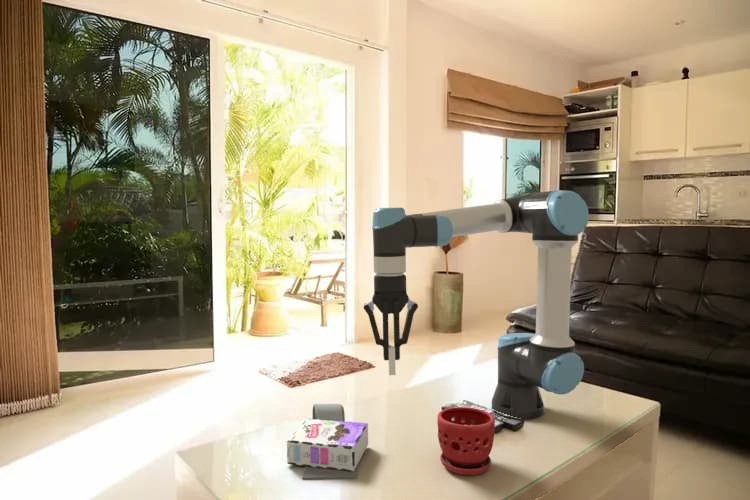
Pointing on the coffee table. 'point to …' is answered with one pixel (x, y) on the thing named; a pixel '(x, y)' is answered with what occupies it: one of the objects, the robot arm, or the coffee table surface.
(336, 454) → the candy box
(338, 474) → the mat
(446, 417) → the plant pot
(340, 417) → the ceramic mug
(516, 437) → the coffee table surface
